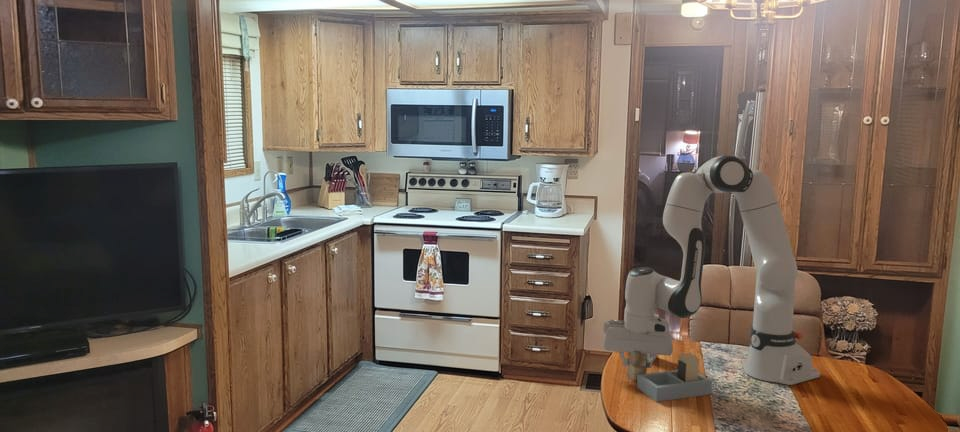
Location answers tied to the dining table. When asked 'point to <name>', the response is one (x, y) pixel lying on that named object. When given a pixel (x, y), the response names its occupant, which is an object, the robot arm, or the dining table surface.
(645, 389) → the divided grey tray
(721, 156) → the robot arm
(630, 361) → the block
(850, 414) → the dining table surface
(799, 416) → the dining table surface
